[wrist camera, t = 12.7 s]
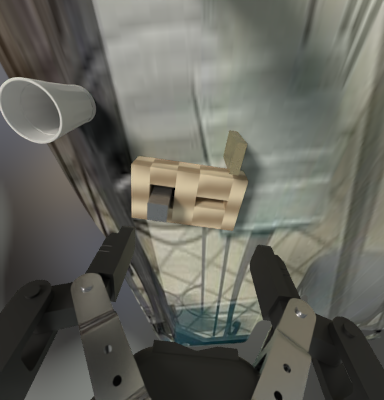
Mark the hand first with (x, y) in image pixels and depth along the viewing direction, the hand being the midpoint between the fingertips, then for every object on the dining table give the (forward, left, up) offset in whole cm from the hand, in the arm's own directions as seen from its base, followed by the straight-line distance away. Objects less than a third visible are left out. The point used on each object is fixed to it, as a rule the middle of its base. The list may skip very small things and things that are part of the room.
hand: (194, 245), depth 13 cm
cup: (-3, -22, -30) cm, 38 cm away
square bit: (+12, -5, -30) cm, 33 cm away
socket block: (+11, 0, -30) cm, 32 cm away
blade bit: (0, +7, -30) cm, 31 cm away
